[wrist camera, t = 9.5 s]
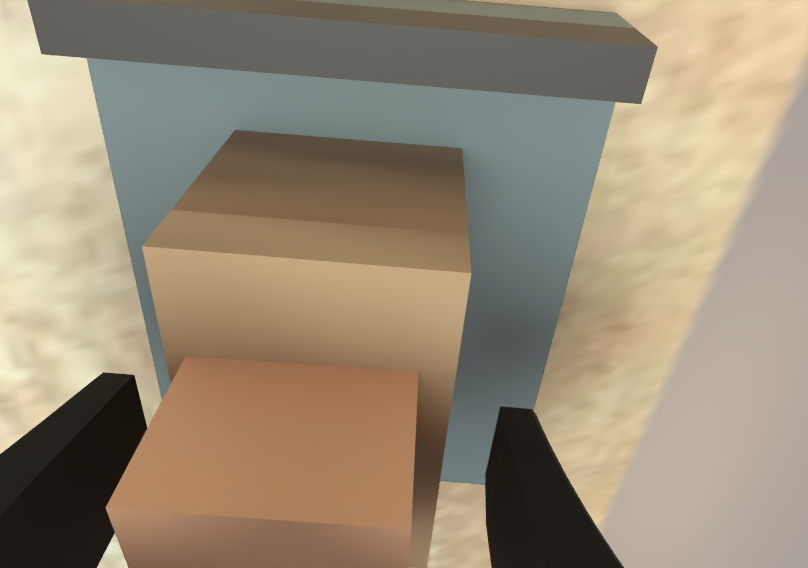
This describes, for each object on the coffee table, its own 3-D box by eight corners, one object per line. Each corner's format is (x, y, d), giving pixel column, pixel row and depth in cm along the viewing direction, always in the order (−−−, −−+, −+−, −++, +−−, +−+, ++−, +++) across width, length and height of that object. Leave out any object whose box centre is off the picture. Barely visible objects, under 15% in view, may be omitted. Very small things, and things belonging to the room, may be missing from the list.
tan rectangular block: (430, 407, 18) (426, 569, 14) (260, 392, 18) (205, 550, 14) (462, 148, 13) (470, 273, 9) (234, 129, 13) (141, 246, 9)
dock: (508, 450, 21) (517, 528, 18) (190, 423, 21) (157, 497, 18) (616, 13, 13) (657, 46, 10) (105, -29, 13) (25, -6, 11)
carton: (408, 515, 13) (399, 672, 10) (217, 501, 13) (162, 654, 10) (418, 370, 10) (411, 528, 8) (185, 356, 10) (105, 507, 8)
